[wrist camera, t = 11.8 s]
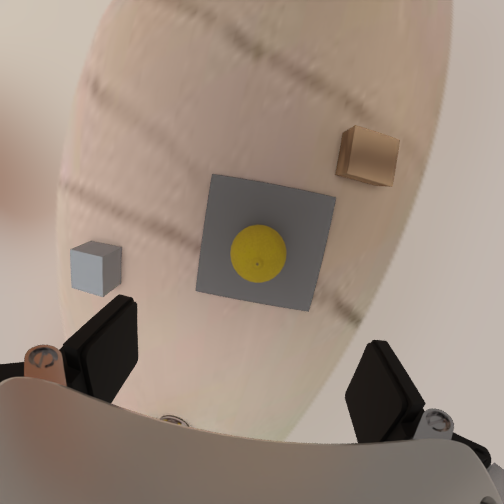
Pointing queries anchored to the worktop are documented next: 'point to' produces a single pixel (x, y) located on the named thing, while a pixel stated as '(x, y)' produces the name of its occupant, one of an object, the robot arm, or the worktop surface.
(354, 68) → the worktop surface
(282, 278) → the mat
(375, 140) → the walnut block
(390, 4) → the worktop surface
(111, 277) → the slate block
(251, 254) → the lemon
